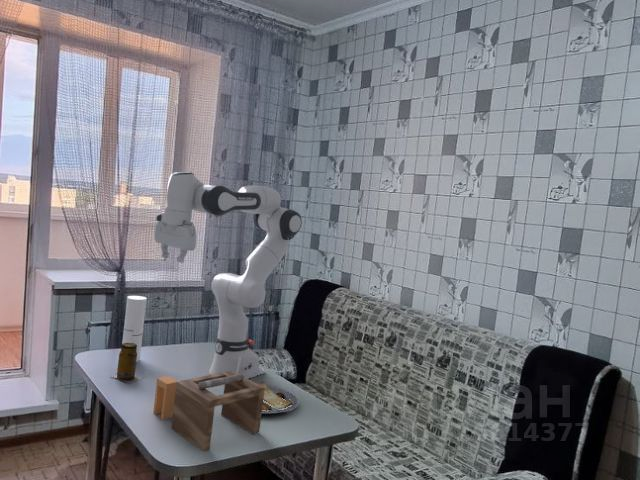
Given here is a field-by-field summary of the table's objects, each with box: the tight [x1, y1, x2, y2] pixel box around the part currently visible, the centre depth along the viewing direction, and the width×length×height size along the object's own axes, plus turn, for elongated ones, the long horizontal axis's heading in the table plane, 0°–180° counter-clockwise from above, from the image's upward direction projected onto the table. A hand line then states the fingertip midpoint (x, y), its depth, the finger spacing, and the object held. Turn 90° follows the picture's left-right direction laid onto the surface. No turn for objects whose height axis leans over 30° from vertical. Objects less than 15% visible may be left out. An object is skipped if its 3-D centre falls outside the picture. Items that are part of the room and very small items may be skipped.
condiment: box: [110, 343, 143, 384], centre depth 179 cm, size 7×8×12 cm
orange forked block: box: [153, 375, 178, 420], centre depth 153 cm, size 4×6×11 cm
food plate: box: [258, 381, 299, 415], centre depth 173 cm, size 25×23×4 cm
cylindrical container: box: [121, 295, 147, 363], centre depth 197 cm, size 7×7×25 cm
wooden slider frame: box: [170, 371, 265, 452], centre depth 147 cm, size 20×16×16 cm
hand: (172, 259), depth 169 cm, fingers open, 8 cm apart
